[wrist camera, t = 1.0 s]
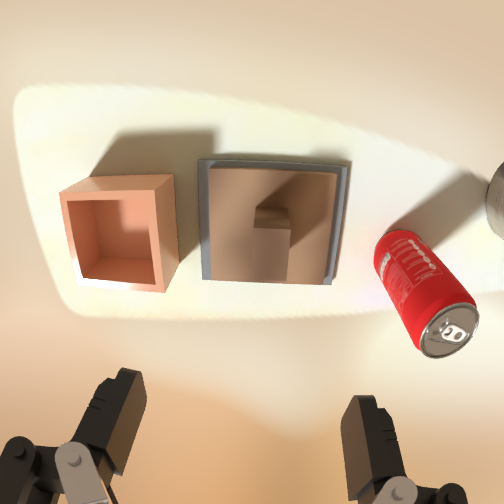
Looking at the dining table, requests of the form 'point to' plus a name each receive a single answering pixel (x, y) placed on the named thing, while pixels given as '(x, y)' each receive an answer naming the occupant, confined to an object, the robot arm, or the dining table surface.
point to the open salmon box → (122, 231)
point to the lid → (270, 224)
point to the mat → (207, 163)
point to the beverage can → (425, 294)
